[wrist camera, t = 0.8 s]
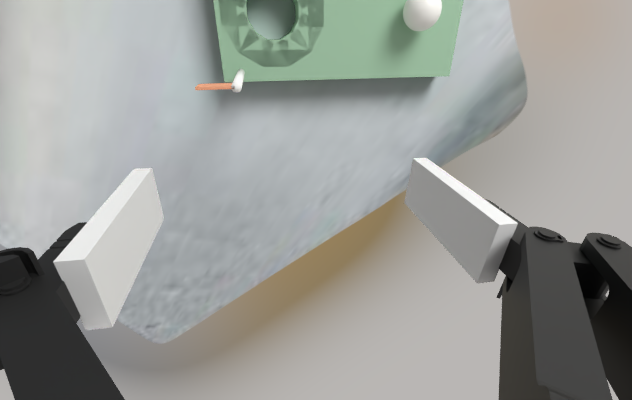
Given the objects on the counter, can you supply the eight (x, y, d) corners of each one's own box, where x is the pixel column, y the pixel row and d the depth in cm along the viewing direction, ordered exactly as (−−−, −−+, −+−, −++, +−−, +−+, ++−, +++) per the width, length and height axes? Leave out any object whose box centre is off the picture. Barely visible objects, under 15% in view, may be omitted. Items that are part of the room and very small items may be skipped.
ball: (399, -10, 34) (416, -16, 30) (432, -9, 34) (453, -15, 31) (395, 31, 35) (410, 31, 32) (426, 31, 36) (445, 31, 33)
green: (195, -71, 30) (151, -151, 17) (459, -58, 35) (581, -113, 22) (217, 79, 37) (197, 102, 24) (436, 73, 42) (520, 90, 29)
